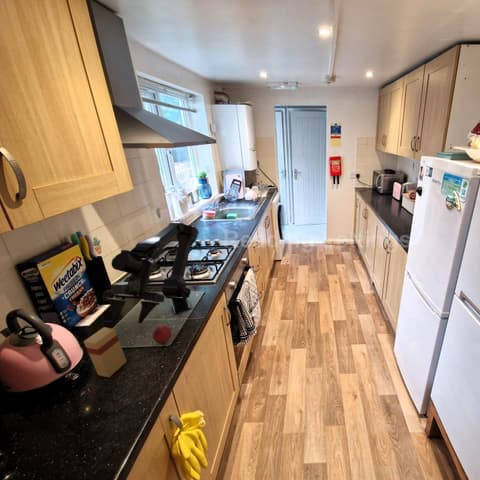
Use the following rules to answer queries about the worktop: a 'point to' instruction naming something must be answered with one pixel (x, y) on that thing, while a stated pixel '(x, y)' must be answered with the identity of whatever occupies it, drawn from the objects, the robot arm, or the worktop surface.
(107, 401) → the worktop surface
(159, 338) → the onion
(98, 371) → the box
